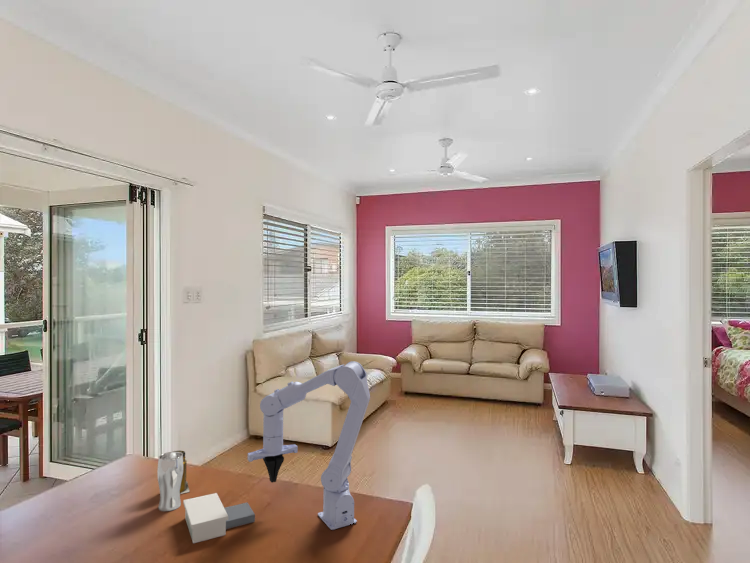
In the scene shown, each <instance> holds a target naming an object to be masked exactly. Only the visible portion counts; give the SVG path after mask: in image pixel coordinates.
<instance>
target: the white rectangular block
mask: <svg viewBox="0 0 750 563" xmlns="http://www.w3.org/2000/svg"><path fill="white" fill-rule="evenodd" d="M182 504H183V507H184V510H185V515H184V516H185V518H184V519H185V521H186V526H187V528H188V532H189V535H190V538H191V540H192V541H191V542H192V544H196V543H197V544H198V543H200V542H204V541H208V540H211V539H215V538H219V537H224V536H226V532H227V531H226V530H227V529H226V520H228V514H227V512H226V510H225V507H224V504H223V503H222V501H221V498H220V496H219V495H218V492H214V493H210V494H205V495H200V496H197V497H193V498H192V497H191V498H187V499H183V502H182Z"/></svg>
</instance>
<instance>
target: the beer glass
mask: <svg viewBox="0 0 750 563" xmlns="http://www.w3.org/2000/svg"><path fill="white" fill-rule="evenodd" d="M156 474H157V483H158V487H159V488H158V489H159V494H160V495H159V503H158V510H159V511H160V512H172V511H175V510H177V509H179V508H180V507H181V505H182V501H181V494H180V487H181V482H182V476H183V453H181V452H173V451H169V452H164V453H162V454H160V455H159V456H158V461H157V472H156Z"/></svg>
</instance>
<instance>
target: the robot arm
mask: <svg viewBox="0 0 750 563" xmlns="http://www.w3.org/2000/svg"><path fill="white" fill-rule="evenodd" d="M367 376H368V373H367V372H366V369H364V367H363V365H362V364H361V363H360V362H358V361H353V360H351V361H349V362H347V363H346V364H340V365H337V366H335V367H332V368H329V369H327V370H326V371H324V372H321V373H320V374H318V375H316V376H314V377H312V378H311V379H308V380H307V381H304V382H299V381H293V380H292V381H290V382H288V383H287V385H286V386H284V387H282V388H277V389H274V392H272V393H270V394H268V395H265V396H264V397H263V398H262V399H261V401H260V402H259V404H260V405H259V407H260V408H259V409H260V411H261V412H262V414H263V425H262V427H263V428H262V430H263V431H262V432H263V433H262V434H263V436H262V438H263V440H262V443H263V444H262V448H261V449H257V450H255V451H251V452H248V453H247V461H248V462H249V463H250V462H254V461H257V460H263V463H264V464H265V467H266V470H267V473H268V478H269V481H270V483H272V484H273V483H276V482H277V478H278V475H279V471H280V470H281V469H280V468H281V467H282V464H284V461H285V457H284V455H288V454H291V453H294V454H296V453H297V454H298V452H299V451H298V450H299V448H298V445H296V444H295V443H294V444H284V410H285V409H288V408H289V407H292V406H294V405H296V404H298V403H300V402H302V401H304V400H305V399H306V397H307V394H308V393H310V392H312V391H314V390H317V389H319V388H321V387H323V386H325V385H329V386H332V387H335V386H337V387H338V388H339V389H341V390H342V391H343V392H344V393H345V394H346V395H347V397H348V398H349V400H350V405H349V407H348V410H347V413H346V415H345V420H344V421H343V425H342V428H341V432H340V433H339V437H338V440H337V444H336V447H335V449H334V453H333V454H332V456H331V459H330V461H329V462H328V466H327V468H326V469H325V470H323V472H322V474H321V475H320V482H321V485H322V487H323V494H322V495H323V496H322V497H323V500H322V501H323V502H322V503H323V505H322V506H323V509H322V511H320V512H317V516H318V517H319V518H320V519H321V521H322V522H324V524H326V526H327V527H328V528H329V529H330V531H331V530H332V531H334V530H336V529H337V530H338V529H340V528H343V527H348V526H350V524H351V525H353V523H354V524H357V523H358V520H357V519H356V518H355V500H354V497H353V495H351V492H350V483H349V479H348V477H349V476H350V475H351V472H352V459H353V456H352V455H353V450H354V449H355V445H356V443H357V439H358V436H359V434H360V430H361V429H362V424H363V422H364V418H365V416H366V415H365V414H366V412H367V409H368V406H369V403H370V401H371V393H370V388H369V383H368V377H367ZM356 522H357V523H356Z"/></svg>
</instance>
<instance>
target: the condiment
mask: <svg viewBox="0 0 750 563" xmlns="http://www.w3.org/2000/svg"><path fill="white" fill-rule="evenodd" d="M172 452H181V453H183V476H182V482H181V487H180V495H181V494H186V493H187V494H188V493H190V488H189V482H188V480H187V459H186V451H184V450H174V451H173V450H172Z"/></svg>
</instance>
